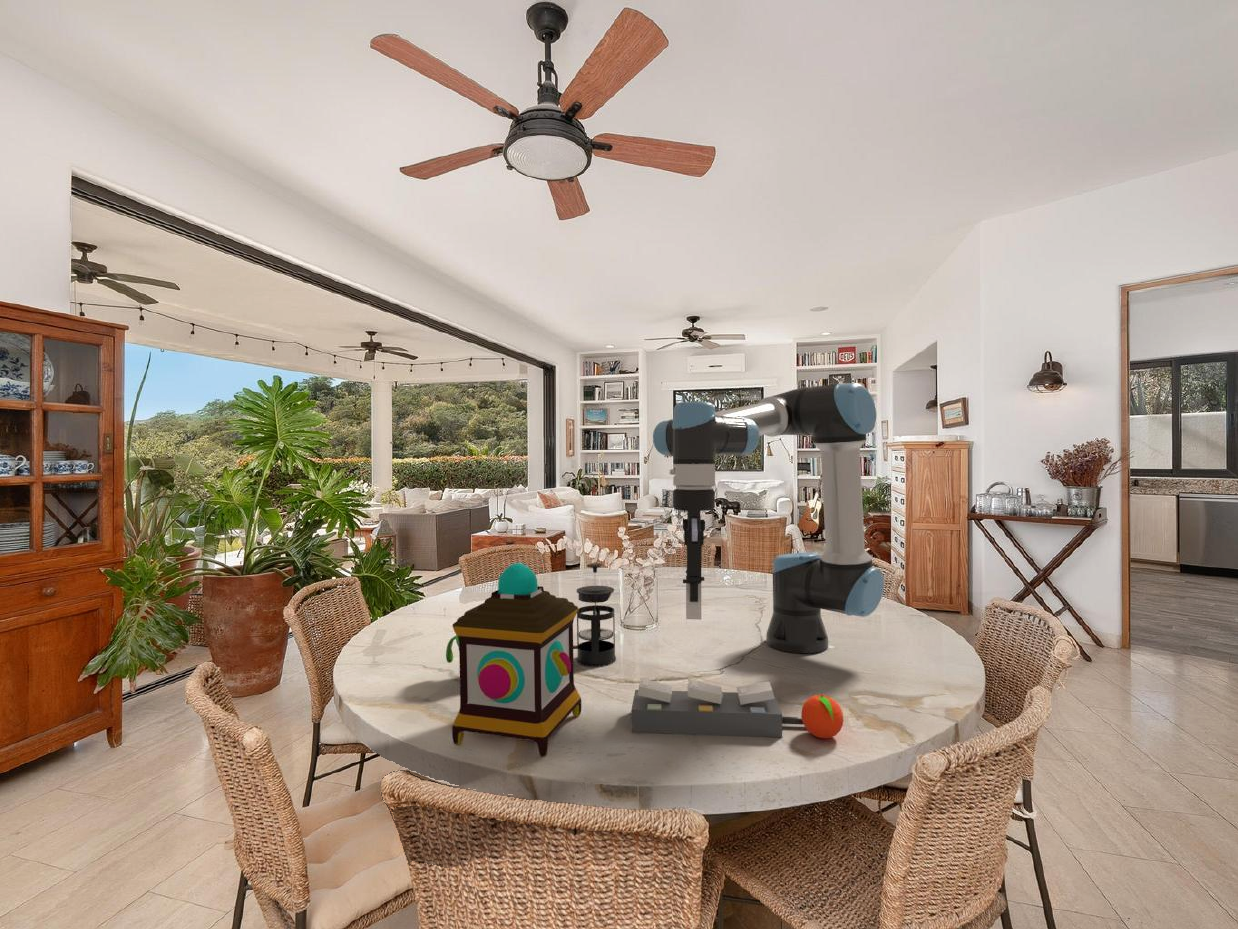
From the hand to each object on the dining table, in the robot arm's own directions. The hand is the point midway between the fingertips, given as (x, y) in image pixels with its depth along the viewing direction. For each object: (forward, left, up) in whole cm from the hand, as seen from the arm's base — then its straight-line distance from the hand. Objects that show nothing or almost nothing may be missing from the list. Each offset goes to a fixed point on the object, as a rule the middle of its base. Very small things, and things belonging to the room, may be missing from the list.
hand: (693, 618), depth 109 cm
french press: (+23, -32, -20) cm, 44 cm away
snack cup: (+46, -18, -20) cm, 53 cm away
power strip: (-5, 0, -19) cm, 20 cm away
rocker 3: (-11, 0, -14) cm, 17 cm away
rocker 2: (-2, 0, -14) cm, 14 cm away
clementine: (-22, +4, -20) cm, 30 cm away
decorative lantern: (+31, +5, -20) cm, 37 cm away
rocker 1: (+7, 0, -14) cm, 15 cm away
